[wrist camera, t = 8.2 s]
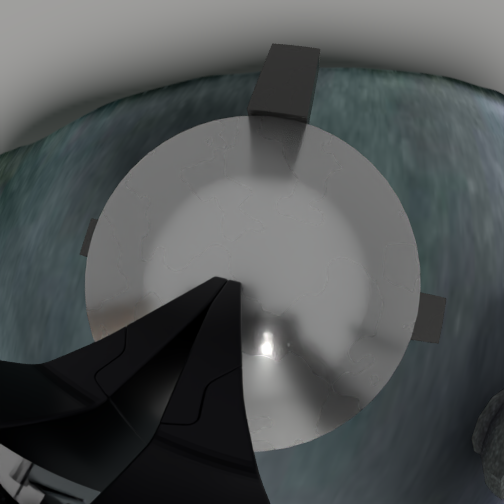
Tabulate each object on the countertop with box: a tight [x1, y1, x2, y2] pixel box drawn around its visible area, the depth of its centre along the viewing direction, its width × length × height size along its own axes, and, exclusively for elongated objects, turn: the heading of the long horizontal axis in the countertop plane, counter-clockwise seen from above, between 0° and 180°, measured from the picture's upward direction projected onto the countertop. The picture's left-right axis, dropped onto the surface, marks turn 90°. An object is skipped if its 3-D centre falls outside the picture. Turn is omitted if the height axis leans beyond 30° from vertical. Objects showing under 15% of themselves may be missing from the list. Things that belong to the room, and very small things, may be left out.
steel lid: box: [85, 44, 420, 451], centre depth 10 cm, size 18×13×1 cm
